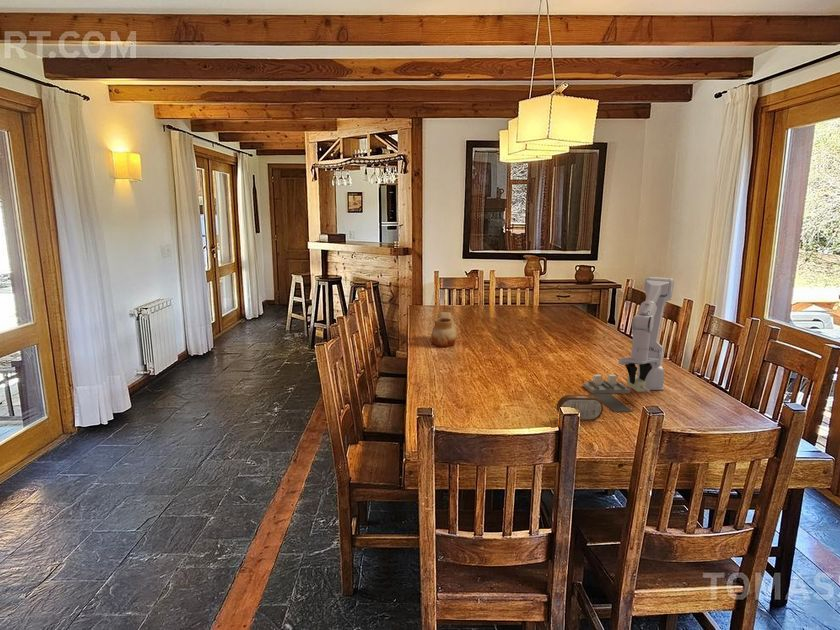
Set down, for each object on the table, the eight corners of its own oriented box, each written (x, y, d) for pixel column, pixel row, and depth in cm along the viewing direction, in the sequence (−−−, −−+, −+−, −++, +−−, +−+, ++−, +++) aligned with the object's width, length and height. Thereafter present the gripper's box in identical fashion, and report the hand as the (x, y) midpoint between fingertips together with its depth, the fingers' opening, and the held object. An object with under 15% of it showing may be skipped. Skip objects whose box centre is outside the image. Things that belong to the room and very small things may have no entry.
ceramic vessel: (457, 337, 287) (458, 310, 285) (456, 348, 262) (457, 319, 259) (433, 336, 289) (433, 309, 286) (429, 347, 263) (430, 318, 260)
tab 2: (613, 383, 206) (614, 374, 205) (616, 384, 203) (617, 376, 202) (606, 383, 205) (607, 374, 205) (609, 385, 203) (610, 376, 202)
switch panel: (619, 385, 207) (619, 379, 207) (629, 393, 199) (630, 387, 198) (583, 386, 206) (583, 380, 206) (592, 393, 197) (592, 387, 197)
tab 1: (599, 383, 205) (600, 374, 204) (601, 385, 203) (602, 376, 202) (591, 383, 205) (592, 374, 204) (594, 385, 202) (595, 376, 202)
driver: (634, 384, 196) (635, 375, 195) (652, 396, 183) (653, 386, 183) (627, 384, 196) (627, 375, 195) (644, 396, 183) (645, 386, 182)
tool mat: (610, 394, 197) (610, 393, 197) (633, 411, 179) (633, 411, 179) (592, 394, 196) (592, 394, 196) (613, 412, 179) (613, 411, 179)
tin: (599, 418, 173) (601, 394, 172) (603, 421, 170) (605, 397, 169) (555, 417, 173) (557, 393, 171) (558, 421, 170) (560, 397, 168)
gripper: (626, 350, 184) (622, 386, 187) (665, 350, 186) (661, 386, 188) (617, 345, 191) (614, 380, 194) (654, 345, 192) (651, 380, 195)
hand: (636, 382), depth 191 cm, fingers closed on driver, 3 cm apart
